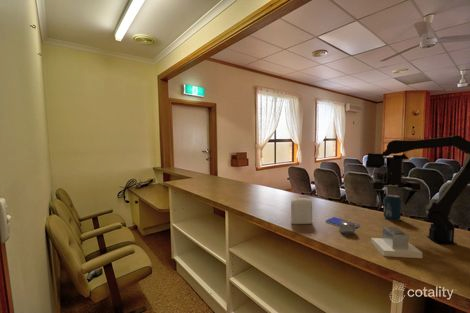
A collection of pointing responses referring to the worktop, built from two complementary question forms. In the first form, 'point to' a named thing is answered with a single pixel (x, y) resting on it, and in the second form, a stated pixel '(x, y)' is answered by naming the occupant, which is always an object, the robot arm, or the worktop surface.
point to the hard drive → (338, 222)
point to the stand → (388, 251)
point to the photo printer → (301, 211)
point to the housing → (395, 238)
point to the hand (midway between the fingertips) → (392, 204)
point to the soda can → (392, 207)
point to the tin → (347, 228)
